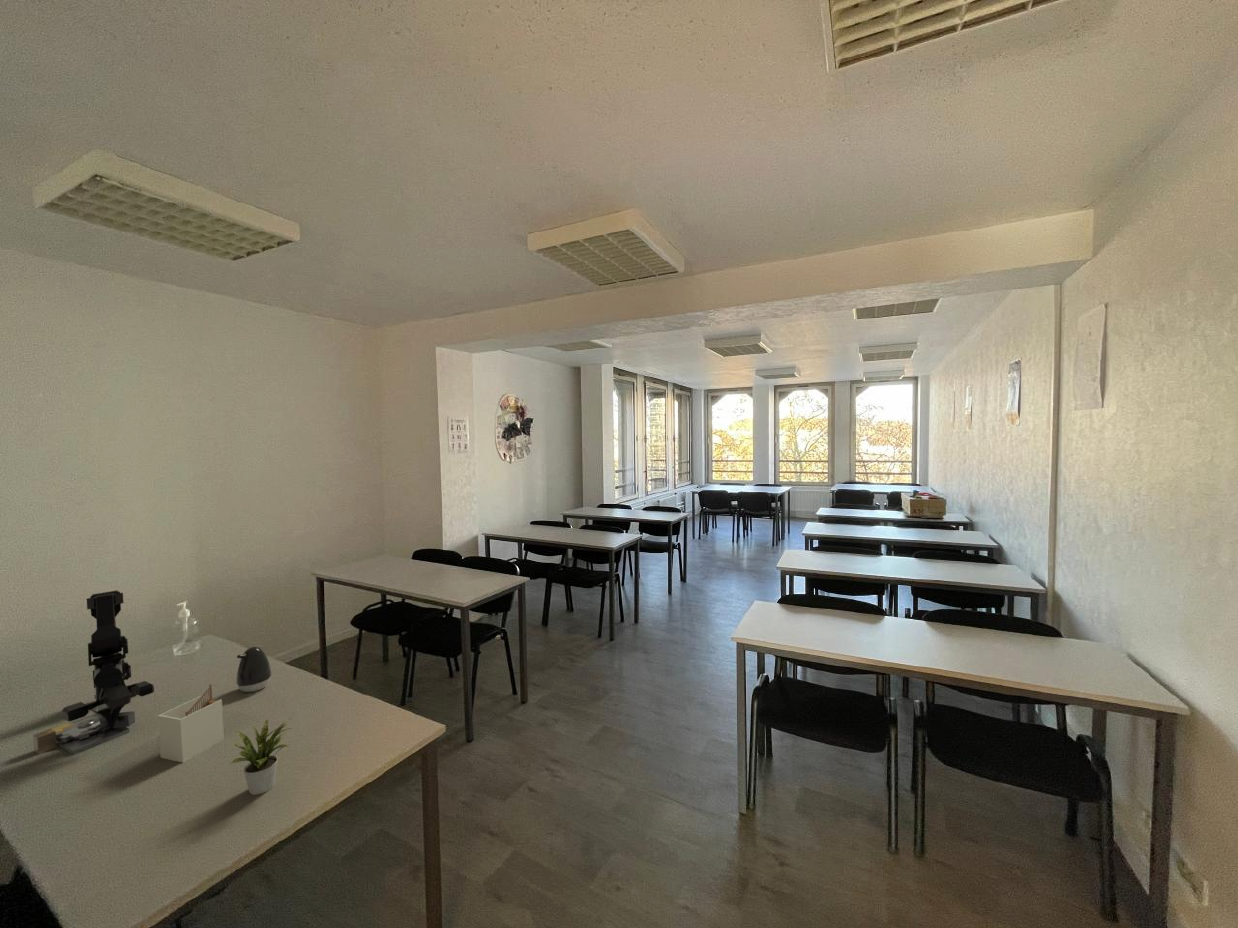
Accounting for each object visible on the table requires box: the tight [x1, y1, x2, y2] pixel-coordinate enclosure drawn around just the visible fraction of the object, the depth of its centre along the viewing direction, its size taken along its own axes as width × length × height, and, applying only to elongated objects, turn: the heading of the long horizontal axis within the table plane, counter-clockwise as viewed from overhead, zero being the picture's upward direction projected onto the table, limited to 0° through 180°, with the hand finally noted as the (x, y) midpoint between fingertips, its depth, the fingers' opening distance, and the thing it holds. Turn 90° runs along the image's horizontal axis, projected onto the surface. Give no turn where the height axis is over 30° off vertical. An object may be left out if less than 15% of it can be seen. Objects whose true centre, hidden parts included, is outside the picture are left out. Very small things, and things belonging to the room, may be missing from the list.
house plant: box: [229, 717, 293, 796], centre depth 124 cm, size 14×14×16 cm
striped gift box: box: [32, 728, 58, 756], centre depth 142 cm, size 4×4×5 cm
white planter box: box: [157, 684, 225, 763], centre depth 141 cm, size 9×11×17 cm
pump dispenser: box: [235, 646, 273, 693], centre depth 175 cm, size 10×10×15 cm
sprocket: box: [56, 710, 136, 742], centre depth 150 cm, size 18×12×4 cm
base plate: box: [52, 713, 130, 755], centre depth 150 cm, size 22×12×1 cm, turn 64°
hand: (111, 727), depth 148 cm, fingers closed
